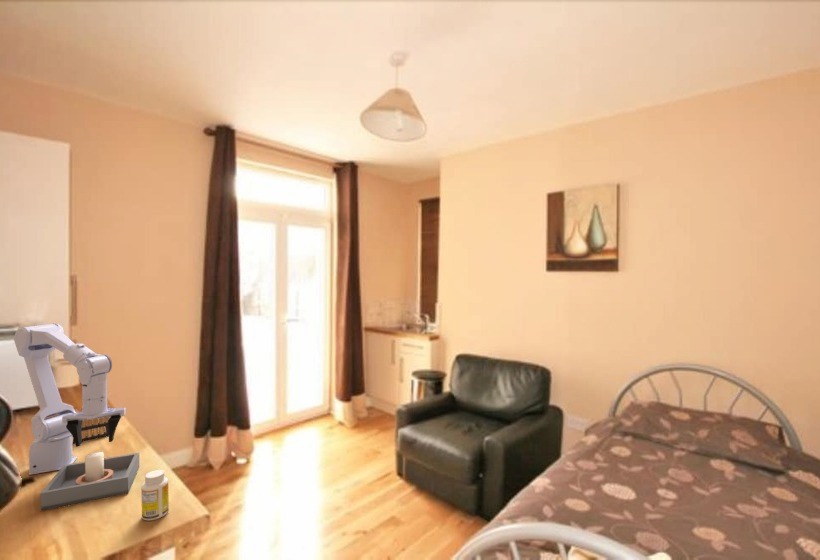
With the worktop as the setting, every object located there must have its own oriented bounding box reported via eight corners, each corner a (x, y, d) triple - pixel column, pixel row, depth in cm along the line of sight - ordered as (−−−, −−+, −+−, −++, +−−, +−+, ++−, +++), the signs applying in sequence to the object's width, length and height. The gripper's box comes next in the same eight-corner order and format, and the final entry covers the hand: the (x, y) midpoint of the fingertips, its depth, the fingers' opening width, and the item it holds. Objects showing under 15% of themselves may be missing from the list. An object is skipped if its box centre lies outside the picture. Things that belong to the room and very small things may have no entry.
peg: (83, 488, 106) (83, 459, 106) (88, 481, 109) (87, 453, 109) (101, 485, 107) (101, 456, 107) (105, 478, 111) (105, 450, 111)
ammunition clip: (73, 444, 136) (72, 410, 136) (72, 442, 137) (72, 408, 137) (111, 435, 143) (111, 403, 143) (111, 434, 144) (110, 401, 144)
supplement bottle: (164, 505, 100) (163, 465, 100) (172, 513, 96) (171, 472, 96) (138, 515, 96) (138, 474, 95) (145, 525, 92) (145, 482, 92)
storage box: (40, 511, 97) (40, 493, 97) (63, 480, 112) (63, 465, 112) (128, 493, 105) (128, 477, 105) (139, 467, 119) (139, 452, 119)
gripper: (57, 404, 108) (58, 453, 108) (121, 398, 114) (121, 443, 115) (67, 397, 115) (67, 443, 115) (127, 391, 121) (127, 434, 121)
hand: (95, 442), depth 115 cm, fingers open, 7 cm apart
